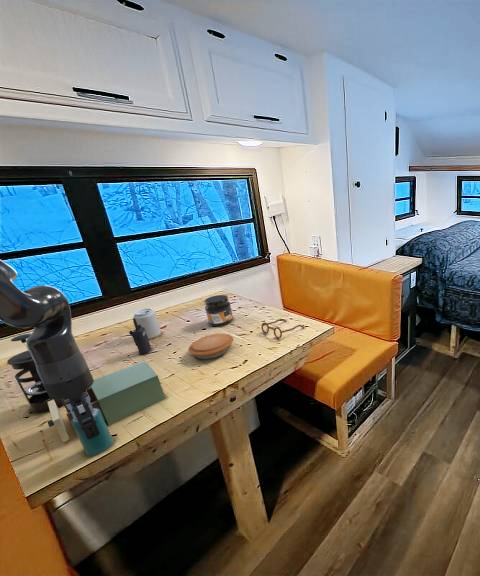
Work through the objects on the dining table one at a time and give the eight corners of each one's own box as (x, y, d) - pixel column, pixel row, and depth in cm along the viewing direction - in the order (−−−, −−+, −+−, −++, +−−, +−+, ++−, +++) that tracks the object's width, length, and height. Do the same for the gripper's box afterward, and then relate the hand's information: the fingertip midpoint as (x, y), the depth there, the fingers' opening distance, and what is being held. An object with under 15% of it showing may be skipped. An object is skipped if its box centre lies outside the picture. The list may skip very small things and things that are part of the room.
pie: (234, 338, 128) (232, 327, 127) (235, 356, 115) (232, 344, 113) (192, 347, 122) (189, 336, 121) (188, 367, 109) (184, 355, 107)
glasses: (261, 332, 132) (259, 322, 131) (285, 321, 143) (284, 311, 141) (281, 340, 126) (279, 329, 124) (305, 328, 136) (303, 317, 134)
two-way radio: (148, 354, 118) (136, 319, 113) (134, 356, 116) (122, 321, 111) (152, 347, 123) (141, 313, 118) (139, 349, 121) (127, 315, 116)
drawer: (56, 445, 77) (45, 424, 74) (51, 424, 83) (40, 404, 81) (124, 413, 87) (116, 394, 84) (114, 397, 93) (107, 378, 91)
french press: (25, 407, 91) (-11, 339, 83) (66, 388, 99) (36, 325, 91) (41, 419, 87) (5, 349, 79) (83, 398, 94) (54, 333, 86)
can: (163, 335, 132) (156, 310, 128) (142, 342, 127) (133, 316, 123) (159, 330, 137) (151, 305, 132) (139, 336, 132) (130, 311, 127)
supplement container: (217, 329, 136) (211, 304, 132) (204, 324, 142) (198, 300, 138) (238, 320, 145) (233, 296, 141) (225, 315, 150) (220, 292, 146)
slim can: (88, 459, 74) (72, 426, 70) (84, 448, 77) (68, 416, 73) (115, 445, 77) (101, 413, 74) (110, 435, 80) (97, 404, 77)
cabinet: (108, 425, 84) (97, 400, 81) (98, 405, 91) (88, 381, 88) (165, 398, 94) (157, 375, 91) (152, 382, 101) (144, 360, 98)
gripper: (38, 369, 71) (64, 423, 76) (45, 394, 62) (74, 453, 68) (81, 354, 76) (103, 406, 82) (93, 376, 68) (117, 432, 73)
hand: (90, 428), depth 75 cm, fingers open, 8 cm apart
